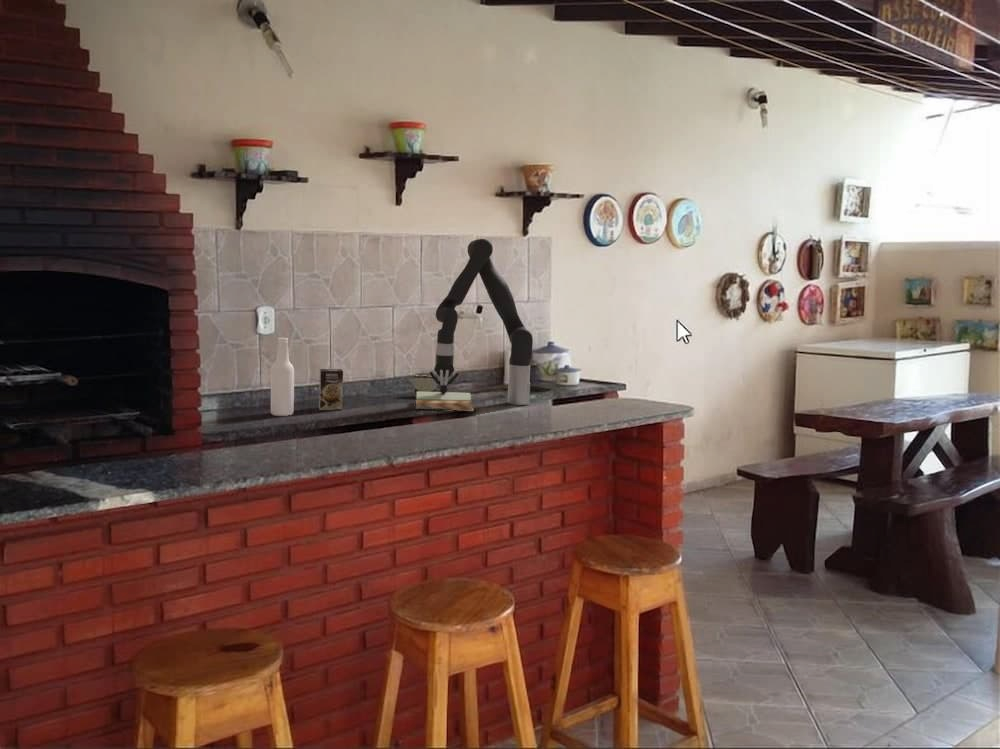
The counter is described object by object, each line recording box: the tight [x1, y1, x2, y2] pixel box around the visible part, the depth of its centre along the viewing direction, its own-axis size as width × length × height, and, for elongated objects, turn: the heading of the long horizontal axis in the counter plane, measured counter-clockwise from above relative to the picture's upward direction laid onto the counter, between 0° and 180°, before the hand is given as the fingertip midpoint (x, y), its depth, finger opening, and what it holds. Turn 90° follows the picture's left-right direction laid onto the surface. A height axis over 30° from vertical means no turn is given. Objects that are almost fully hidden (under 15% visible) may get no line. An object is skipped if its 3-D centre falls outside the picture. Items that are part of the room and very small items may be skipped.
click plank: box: [415, 391, 472, 404], centre depth 401 cm, size 23×8×2 cm, turn 96°
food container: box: [411, 372, 440, 397], centre depth 421 cm, size 12×6×10 cm, turn 84°
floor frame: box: [417, 400, 475, 412], centre depth 398 cm, size 24×16×3 cm, turn 96°
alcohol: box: [270, 336, 295, 417], centre depth 366 cm, size 9×9×30 cm
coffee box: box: [318, 368, 344, 411], centre depth 382 cm, size 9×6×16 cm
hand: (443, 393), depth 403 cm, fingers closed
